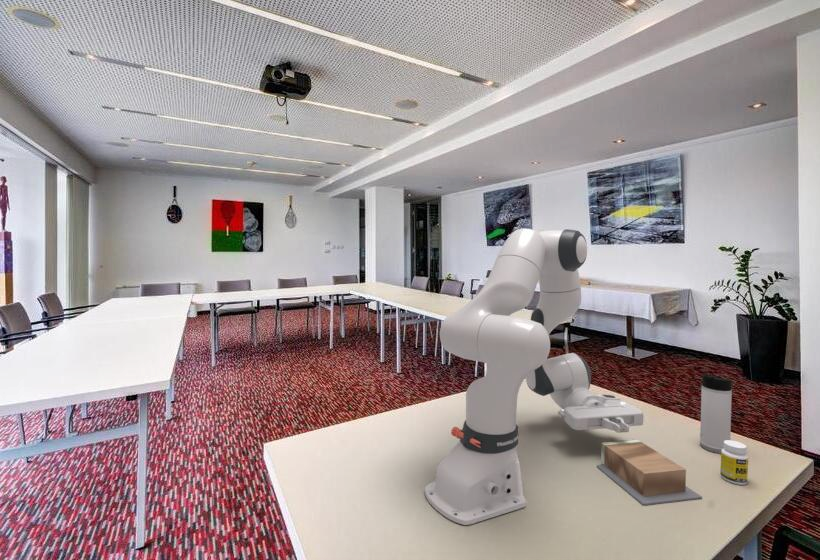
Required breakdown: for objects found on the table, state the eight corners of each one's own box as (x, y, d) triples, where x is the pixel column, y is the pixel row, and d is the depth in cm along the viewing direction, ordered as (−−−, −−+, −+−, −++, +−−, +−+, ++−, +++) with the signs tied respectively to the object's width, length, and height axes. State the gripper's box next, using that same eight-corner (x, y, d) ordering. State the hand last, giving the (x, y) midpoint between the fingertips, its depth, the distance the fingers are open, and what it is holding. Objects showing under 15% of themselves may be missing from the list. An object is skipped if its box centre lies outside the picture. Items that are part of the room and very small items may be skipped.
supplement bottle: (737, 487, 84) (738, 450, 84) (715, 475, 88) (716, 440, 88) (752, 483, 85) (754, 447, 85) (730, 472, 90) (731, 437, 89)
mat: (596, 466, 92) (596, 465, 92) (647, 461, 95) (647, 460, 95) (643, 505, 78) (643, 503, 78) (702, 498, 80) (702, 496, 80)
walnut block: (601, 442, 94) (644, 473, 80) (637, 439, 95) (685, 469, 81) (601, 462, 94) (644, 496, 80) (636, 458, 95) (685, 491, 82)
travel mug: (693, 445, 103) (695, 373, 102) (710, 441, 105) (712, 370, 104) (718, 456, 97) (720, 379, 96) (735, 452, 99) (738, 377, 98)
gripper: (554, 399, 105) (585, 419, 91) (621, 395, 108) (660, 414, 94) (554, 421, 105) (585, 445, 91) (620, 416, 108) (659, 439, 94)
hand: (623, 429), depth 93 cm, fingers closed
